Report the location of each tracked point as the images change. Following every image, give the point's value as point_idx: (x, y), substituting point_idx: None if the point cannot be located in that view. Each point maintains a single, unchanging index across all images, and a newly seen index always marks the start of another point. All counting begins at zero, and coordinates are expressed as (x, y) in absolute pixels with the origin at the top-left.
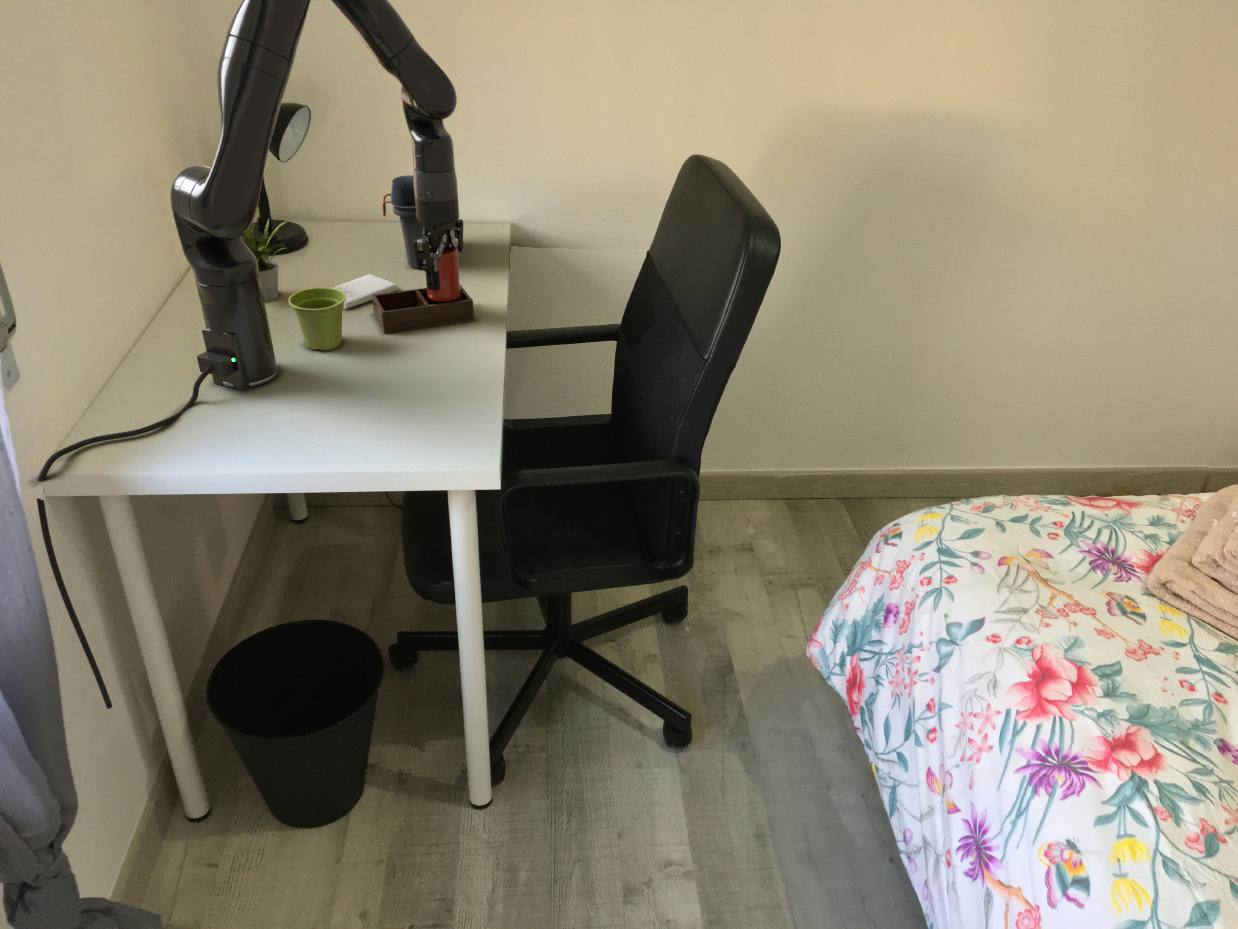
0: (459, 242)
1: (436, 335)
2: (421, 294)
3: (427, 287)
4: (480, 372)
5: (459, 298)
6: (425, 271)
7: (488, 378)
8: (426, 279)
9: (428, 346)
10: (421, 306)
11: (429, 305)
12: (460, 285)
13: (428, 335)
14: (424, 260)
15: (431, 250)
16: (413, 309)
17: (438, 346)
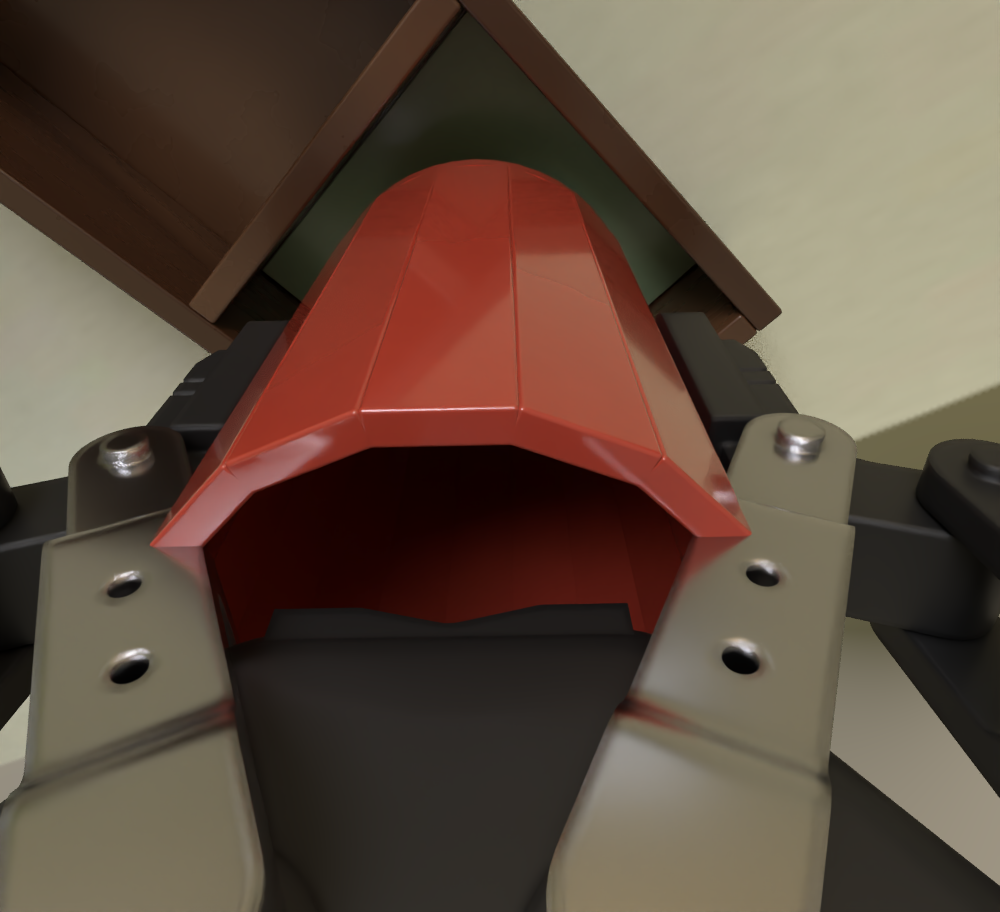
0: (944, 719)
1: (175, 370)
2: (370, 116)
3: (339, 248)
4: (27, 702)
5: (681, 298)
6: (321, 289)
7: (15, 738)
8: (332, 265)
9: (24, 406)
10: (140, 284)
11: (205, 334)
12: (739, 341)
13: (138, 327)
14: (69, 527)
15: (275, 618)
16: (57, 240)
17: (70, 452)
